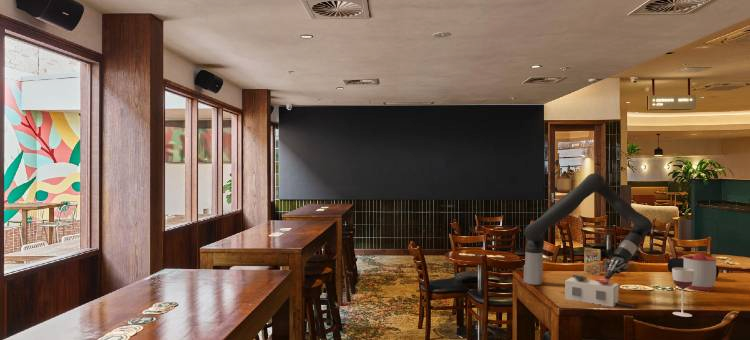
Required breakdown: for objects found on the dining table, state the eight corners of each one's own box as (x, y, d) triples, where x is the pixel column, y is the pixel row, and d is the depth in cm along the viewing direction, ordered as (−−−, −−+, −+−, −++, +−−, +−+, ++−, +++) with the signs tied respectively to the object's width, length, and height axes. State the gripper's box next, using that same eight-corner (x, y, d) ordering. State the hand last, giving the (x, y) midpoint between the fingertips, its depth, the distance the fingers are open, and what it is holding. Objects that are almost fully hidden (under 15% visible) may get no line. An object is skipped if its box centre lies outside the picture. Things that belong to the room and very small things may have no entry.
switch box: (564, 299, 255) (564, 280, 254) (571, 295, 263) (571, 277, 263) (631, 310, 236) (632, 290, 236) (636, 305, 245) (636, 286, 245)
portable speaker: (666, 273, 324) (666, 257, 324) (674, 272, 329) (674, 256, 329) (711, 281, 303) (712, 264, 303) (719, 279, 308) (719, 262, 308)
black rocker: (572, 278, 253) (573, 274, 253) (578, 280, 260) (578, 276, 260) (581, 280, 250) (581, 275, 251) (586, 281, 257) (586, 277, 258)
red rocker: (596, 283, 246) (596, 279, 246) (601, 282, 253) (601, 277, 254) (605, 284, 244) (605, 280, 244) (610, 283, 251) (610, 278, 251)
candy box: (583, 273, 319) (584, 248, 319) (585, 272, 323) (585, 247, 323) (599, 275, 315) (599, 250, 315) (600, 274, 318) (600, 249, 318)
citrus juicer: (714, 287, 287) (715, 251, 287) (718, 293, 272) (718, 255, 272) (681, 283, 294) (682, 248, 294) (683, 289, 279) (683, 252, 279)
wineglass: (667, 311, 234) (668, 267, 234) (685, 311, 235) (686, 267, 235) (678, 316, 226) (679, 270, 226) (697, 316, 227) (698, 270, 227)
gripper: (610, 244, 262) (591, 270, 257) (632, 248, 250) (613, 275, 245) (618, 254, 264) (599, 280, 260) (640, 258, 252) (621, 286, 247)
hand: (606, 278), depth 252 cm, fingers closed
